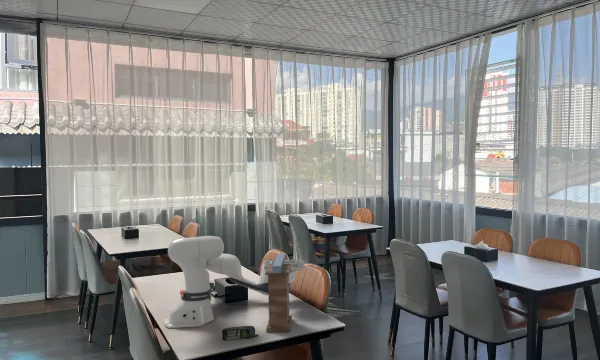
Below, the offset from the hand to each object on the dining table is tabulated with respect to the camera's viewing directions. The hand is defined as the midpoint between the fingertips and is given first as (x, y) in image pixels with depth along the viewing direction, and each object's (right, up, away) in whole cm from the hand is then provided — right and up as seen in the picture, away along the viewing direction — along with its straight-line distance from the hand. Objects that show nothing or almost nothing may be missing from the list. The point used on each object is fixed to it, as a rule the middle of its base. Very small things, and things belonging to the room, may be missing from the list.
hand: (283, 260), depth 220 cm
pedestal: (-1, -26, -16) cm, 31 cm away
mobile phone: (-17, -27, -30) cm, 44 cm away
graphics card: (-42, -25, +39) cm, 62 cm away
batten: (-1, 0, -13) cm, 14 cm away
